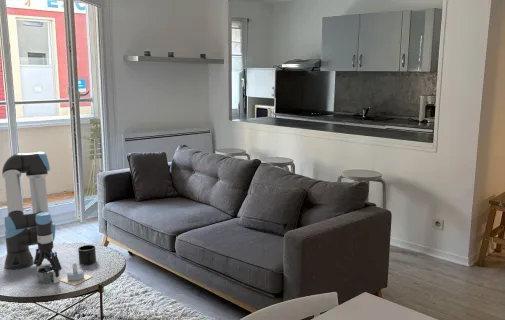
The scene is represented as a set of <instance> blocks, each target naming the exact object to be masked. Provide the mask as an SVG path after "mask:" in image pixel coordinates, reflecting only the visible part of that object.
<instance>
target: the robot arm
mask: <svg viewBox="0 0 505 320" xmlns="http://www.w3.org/2000/svg"><path fill="white" fill-rule="evenodd" d="M50 171H51V167H50V162H49V158H48V154H47V153H46V152H44V151H35V152H34V151H33V152H20V153H19V152H18V153H15V154H12V155H11V156H10V157H9V158H8V159H6V161H5V163H4V164H3V166H2V178H3V179H4V183H5V184H4V185H5V195H6V207H7V216H5V217H4V218H3V219H4V227H5V230H4V234H5V235H4V239H5V245H6V256H5V260H4V268H6V269H8V270H17V269H19V270H20V269H24V268H27V267H29V266H31V265H35V266H36V269H37V270H36V271H37V272H38V270H39V269H40V268H43V267H44V266H43V262H44V260H47V261H48V262H49V264H50V266H52V268H53V269H54V271H53V276H54V282H53V283H54V284H57V283H58V282H59V283H60V281H59V280H60V271H61V270H62V266H61V263H60V260H59V257H58V253H57V251H53V248H54V241H55V237H56V223H55V222H54V221H53V218H52V216H51V215H52V214H51V213H50V212H49V203H48V202H49V201H48V193H47V182H46V177H47V175H48V172H50ZM22 174H25V176H26V178H28V179H29V188H30V197H31V198H30V199H31V207H32V210H31V211H32V213H26V214H24V206H23V205H24V204H23V196H22V188H21V187H22V185H21V177H22ZM36 245H37V248H36V249H35V256H34V257H33V255H32V253H31V251H30V246H36Z"/></svg>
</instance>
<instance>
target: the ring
mask: <svg viewBox="0 0 505 320" xmlns="http://www.w3.org/2000/svg"><path fill="white" fill-rule="evenodd" d="M53 271H54V269H53V268H52V266H51V265H50V271H49V272H45V266H43V268H40V269H39V270H38V271H37V278H38V283H39V284H42V285H47V284H53V283H54V276H53Z"/></svg>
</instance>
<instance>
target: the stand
mask: <svg viewBox="0 0 505 320" xmlns="http://www.w3.org/2000/svg"><path fill="white" fill-rule="evenodd" d="M50 266H51V264H50V265H49V264H46V265H45V266H44V267H45V272H49V271H50Z"/></svg>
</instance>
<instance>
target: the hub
mask: <svg viewBox="0 0 505 320" xmlns="http://www.w3.org/2000/svg"><path fill="white" fill-rule="evenodd" d="M92 278H93V276H92V275H88V274H85V273H84V270H82V269H78V263H77V262H73V263H72V270H70V271H68V272H67V275H66V276H65V277H63V278H61V279H59V282H62V283H64V282H65V284H69V285H71V286H77V285H78V284H81V283H83V282H85V281H87V280H90V279H92Z"/></svg>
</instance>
